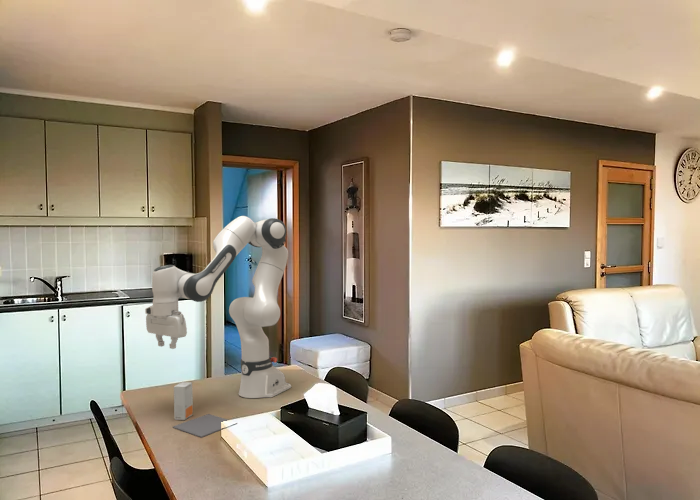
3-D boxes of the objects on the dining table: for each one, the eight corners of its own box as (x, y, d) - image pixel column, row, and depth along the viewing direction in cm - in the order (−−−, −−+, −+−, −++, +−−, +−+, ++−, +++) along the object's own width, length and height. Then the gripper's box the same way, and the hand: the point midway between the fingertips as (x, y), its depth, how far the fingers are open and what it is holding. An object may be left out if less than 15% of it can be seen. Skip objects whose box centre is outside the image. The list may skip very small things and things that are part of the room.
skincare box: (185, 420, 187) (184, 386, 187) (174, 419, 188) (173, 386, 188) (193, 414, 193) (192, 382, 193) (182, 414, 194) (181, 381, 193)
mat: (208, 414, 192) (208, 413, 192) (237, 423, 183) (237, 422, 183) (172, 427, 180) (172, 426, 180) (201, 437, 171) (201, 436, 171)
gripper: (190, 310, 191) (191, 349, 191) (157, 306, 203) (158, 342, 204) (175, 313, 186) (176, 352, 186) (142, 308, 198) (143, 345, 199)
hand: (167, 347), depth 195 cm, fingers open, 6 cm apart
